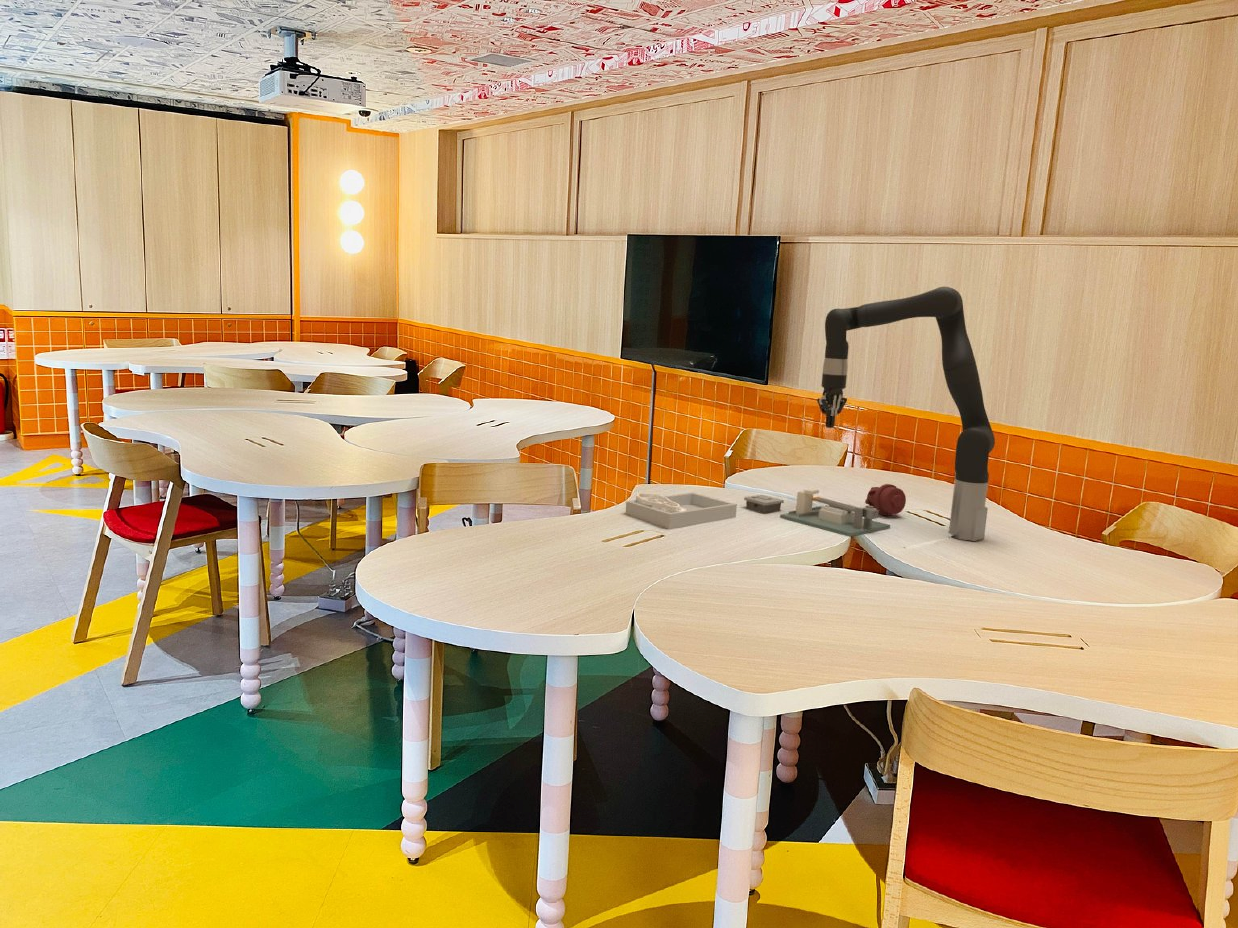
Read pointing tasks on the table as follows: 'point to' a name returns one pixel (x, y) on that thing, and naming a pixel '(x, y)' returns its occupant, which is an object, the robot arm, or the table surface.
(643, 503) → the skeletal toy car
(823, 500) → the lever
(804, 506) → the cream block
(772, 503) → the electrical switch
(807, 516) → the board
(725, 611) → the table surface
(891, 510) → the mechanical component
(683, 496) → the tray
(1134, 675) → the table surface
